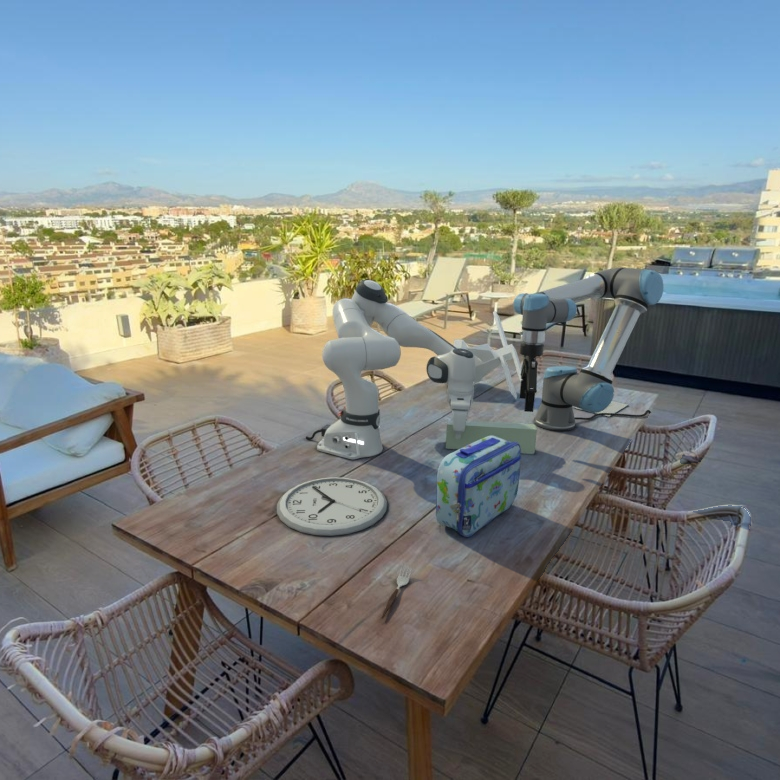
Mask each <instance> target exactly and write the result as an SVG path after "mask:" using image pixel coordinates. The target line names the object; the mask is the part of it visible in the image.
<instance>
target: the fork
mask: <svg viewBox="0 0 780 780" xmlns="http://www.w3.org/2000/svg"><path fill="white" fill-rule="evenodd" d="M403 567H404V568H403ZM406 567H407V565H405V566H404V564H402V565H401V568H400V571H399V573H398V576H397V578H396V584H397V587H396V589H394V591H393V592H392V593H391V595H390V597H389V599H387V603H386V605H385V608H384V610H383V613H382V616H381V619H384V617H385V616H386V614H387V613H388V611H389V610H390V608H391V607H392V606H393V604H394V603H395V601H396V598H397V595H398V593H399V590H400V588H401V587H403V586H406V585H408V584H409V582H410V578H411V574H412V570H413V567H411V568H410V566H408V567H407V570H406ZM409 568H410V571H409ZM408 573H409V574H408Z"/></svg>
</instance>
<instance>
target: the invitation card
mask: <svg viewBox="0 0 780 780" xmlns="http://www.w3.org/2000/svg"><path fill="white" fill-rule="evenodd" d="M628 406H629V404H627V403H623V402H618V401H614V400H612V401H611V403H610V404H609V406H608V407H607V408H606V409H604V410H603V411H601V412H598V413H615V414H617V413H618V412H619V411H621V410H623V409H624V408H626V407H628ZM573 409H575V410H581V411H583V410H582V409H580V408H577V407H575V406H573ZM587 413H590V412H589V411H587ZM598 413H595V414H598ZM603 416H604V417H608V418H609V417H611V416H612V415H603Z"/></svg>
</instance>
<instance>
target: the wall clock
mask: <svg viewBox="0 0 780 780" xmlns="http://www.w3.org/2000/svg"><path fill="white" fill-rule="evenodd" d="M387 509H388V500H387V498H386V496H385V494H384V493H383V492H382V491H381V490H380V489H379V488H377V487H376V486H374V485H372V484H371V483H369V482H365V481H362V480H359V479H355V478H349V477H338V476H337V477H335V476H333V477H332V476H331V477H322V478H317V479H312V480H307V481H305V482H302V483H299V484H297V485H295V486H293V487H292V488H290V489H288V490H287V491H286V492H285V493H284V494H283V495H281V496H280V498H279V499H278V502H277V503H276V515H277V517H278V518H279V520H280V521H281V522H282V523H283V524H285V525H286V526H287V527H288V528H290V529H293V530H295V531H297V532H299V533H303V534H308V535H312V536H327V537H328V536H329V537H331V536H332V537H333V536H342V535H350V534H352V533H356V532H361V531H363V530H366V529H368V528H369V527H372V526H373V525H375V524H376V523H378V522H379V521H380V520H381V519H382V518H383V517H384V516H385V514H386V512H387Z"/></svg>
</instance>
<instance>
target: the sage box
mask: <svg viewBox="0 0 780 780" xmlns="http://www.w3.org/2000/svg"><path fill="white" fill-rule="evenodd" d="M537 432H538V429H537V425H536V424H535V423H522V422H521V423H518V422H503V421H501V422H500V421H484V420H467V421H466V427H465V431H464V432H461V438H460V439H456V438H455V434H456V433H455V432H454V431H453V420H452V419H449V418H447V419H446V432H445V433H446V434H445V435H446V437H445V449H449V450H459V449H461V448H463V447H465V446H467V445H469V444H471V443H474V442H476V441H478V440H480V439H482V438H485V437H487V436H496V437H498V438H501V439H504V440H506V441H509V442H517V443H518V444H519V445H520V449H521V454H524V455H525V454H526V455H527V454H528V455H535V452H536V451H535V450H536V440H537V434H538V433H537Z"/></svg>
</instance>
